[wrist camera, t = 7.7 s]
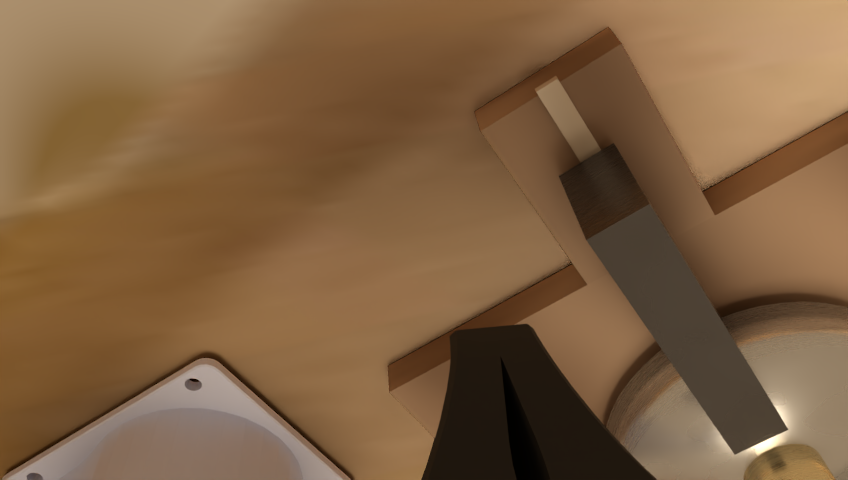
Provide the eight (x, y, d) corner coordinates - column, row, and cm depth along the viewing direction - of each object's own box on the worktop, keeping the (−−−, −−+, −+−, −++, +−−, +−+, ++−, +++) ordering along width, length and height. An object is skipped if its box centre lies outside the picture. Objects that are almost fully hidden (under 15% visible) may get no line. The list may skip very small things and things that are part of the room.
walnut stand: (605, 592, 34) (614, 624, 33) (263, 236, 23) (259, 264, 22) (1044, 404, 29) (1073, 433, 28) (876, -152, 19) (911, -142, 17)
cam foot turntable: (945, 440, 28) (1026, 541, 24) (679, 556, 30) (719, 662, 27) (770, 48, 19) (856, 120, 16) (423, 256, 22) (435, 355, 18)
